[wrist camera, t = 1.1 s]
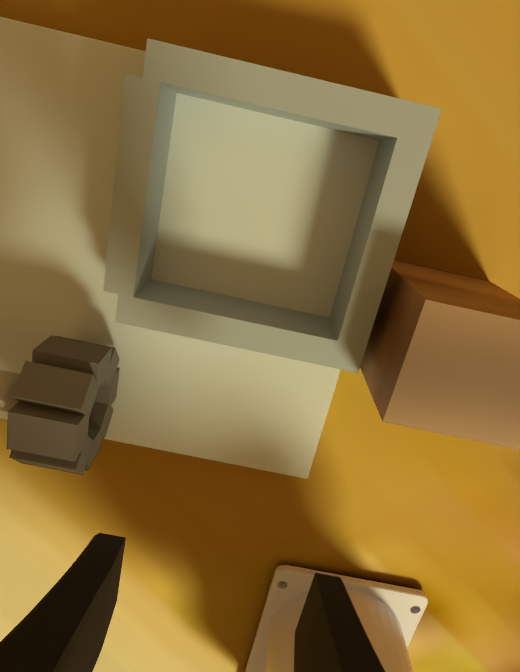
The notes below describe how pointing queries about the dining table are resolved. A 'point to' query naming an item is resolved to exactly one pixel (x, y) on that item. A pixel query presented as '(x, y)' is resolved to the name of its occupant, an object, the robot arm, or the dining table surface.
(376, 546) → the dining table surface
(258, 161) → the chassis
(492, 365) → the walnut block
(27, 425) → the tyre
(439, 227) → the dining table surface
